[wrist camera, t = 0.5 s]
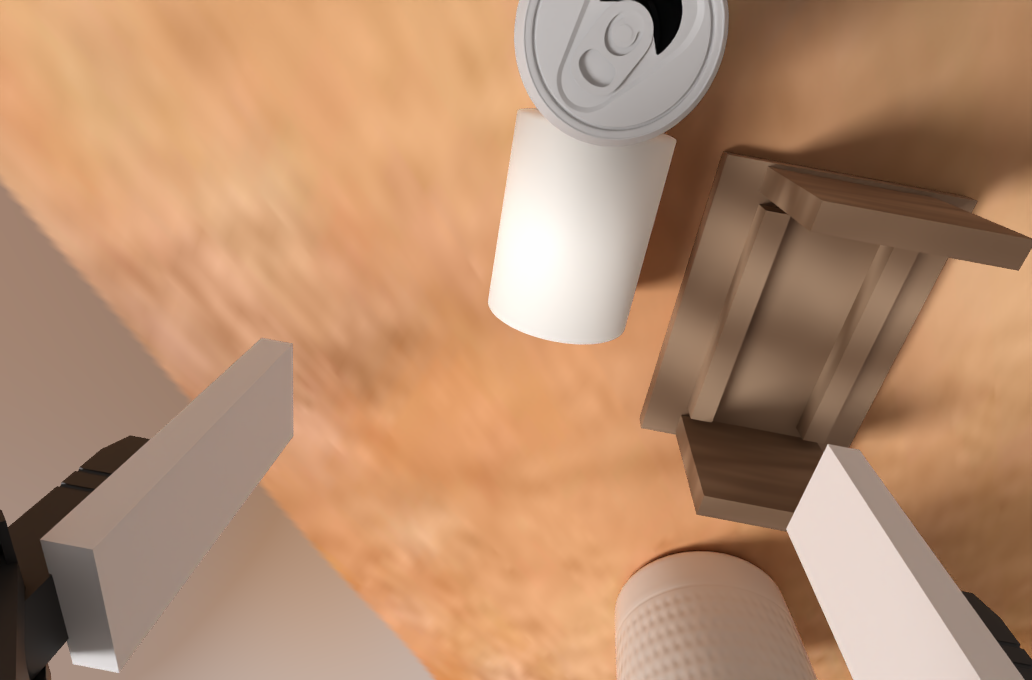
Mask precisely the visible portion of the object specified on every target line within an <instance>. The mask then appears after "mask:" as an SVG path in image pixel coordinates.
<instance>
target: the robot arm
mask: <svg viewBox="0 0 1032 680" xmlns="http://www.w3.org/2000/svg"><path fill="white" fill-rule="evenodd" d="M292 437H293V344H292V343H287V342H281V341H276V340H271V339H265V338H261V339H260V340H259V341H258V342H257V343H256V344H254V345H253V346H252V347H251V348H250V349H249V350H248V351H247V352H246V353H245V354H243V355H242V356H241V357H240V358H239V359H238V360H237V361H236V362H235V363H234V364H232V365H231V366H230V367H229V368H228V369H227V370H226V371H225V372H224V373H223V374H221V375H220V376H219V377H218V378H217V379H216V380H215V381H214V382H213V383H212V384H210V385H209V386H208V387H207V388H206V389H205V390H204V391H203V392H202V393H201V394H199V395H198V396H197V397H196V398H195V399H194V400H193V401H192V402H191V403H190V404H188V405H187V406H186V407H185V408H184V409H183V410H182V411H181V412H180V413H179V414H177V415H176V416H175V417H174V418H173V419H172V420H171V421H170V422H169V423H168V424H166V426H164V427H163V428H162V429H161V430H160V431H159V432H158V433H157V434H155V435H154V436H153V437H152V438H151V439H146V438H141V437H135V436H128V437H126V438H124V439H122V440H120V441H118V442H116V443H113V444H111V445H109V446H108V447H105V448H103V449H101V450H100V451H99V452H98V453H96V454H95V455H94V456H93V457H91V458H90V459H89V460H88V461H87V462H85V463H84V464H83V465H82V466H81V467H80V469H79V471H75V472H74V473H72V474H71V475H70V476H69V477H68V478H66V479H65V480H64V481H63V482H62V484H61V486H60V487H58V486H57V487H56V488H54V489H53V490H52V491H51V492H50V493H48V494H47V495H46V496H45V497H44V498H42V499H41V500H40V501H39V502H38V503H36V504H35V505H34V506H33V507H32V508H31V509H29V510H28V511H27V512H26V513H24V514H23V515H22V516H21V517H20V518H19V519H17V520H16V521H15V522H14V523H12V524H11V525H10V526H9V527H7V523H6V520H5V518H4V515H3V513H2V510H0V680H51V673H50V669H49V666H48V662H49V661H50V660H51V658H52V657H53V656H54V655H55V654H56V653H57V651H58V650H59V649H60V648H61V647H62V646H63V645H64V643H65V642H66V641H67V643H68V647H69V651H70V654H71V658H72V662H73V664H75V665H80V666H86V667H91V668H96V669H101V670H107V671H112V672H117V673H119V672H120V671H121V670H122V668H123V667H124V666H125V664H126V663H127V661H128V660H129V659H130V657H131V656H132V655H133V653H134V652H135V650H136V649H137V648H138V647H139V645H140V644H141V643H142V641H143V640H144V638H145V637H146V636H147V634H148V633H149V632H150V630H151V629H152V628H153V626H154V625H155V623H156V622H157V621H158V619H159V618H160V617H161V615H162V614H163V613H164V611H165V610H166V609H167V607H168V606H169V604H170V603H171V602H172V600H173V599H174V598H175V596H176V595H177V593H178V592H179V591H180V589H181V588H182V587H183V585H184V584H185V583H186V581H187V580H188V579H189V577H190V576H191V574H192V573H193V572H194V570H195V569H196V568H197V566H198V565H199V564H200V562H201V561H202V560H203V558H204V557H205V555H206V554H207V553H208V551H209V550H210V549H211V547H212V546H213V545H214V543H215V542H216V540H217V539H218V538H219V536H220V535H221V534H222V532H223V531H224V530H225V528H226V527H227V526H228V524H229V523H230V521H231V520H232V519H233V517H234V516H235V514H236V513H237V512H238V510H239V509H240V508H241V506H242V505H243V504H244V502H245V501H246V500H247V498H248V497H249V496H250V494H251V493H252V491H253V490H254V489H255V487H256V486H257V485H258V483H259V482H260V481H261V479H262V478H263V477H264V475H265V474H266V472H267V471H268V470H269V468H270V467H271V466H272V464H273V463H274V462H275V460H276V459H277V457H278V456H279V455H280V453H281V452H282V451H283V449H284V448H285V447H286V445H287V444H288V443H289V441H290V440H291V438H292ZM786 530H787V532H788V534H789V536H790V539H791V541H792V543H793V545H794V548H795V550H796V552H797V554H798V557H799V559H800V561H801V563H802V566H803V568H804V570H805V572H806V575H807V577H808V579H809V581H810V584H811V586H812V588H813V590H814V593H815V595H816V597H817V599H818V602H819V604H820V606H821V608H822V610H823V613H824V615H825V617H826V619H827V622H828V624H829V626H830V628H831V631H832V633H833V635H834V637H835V640H836V642H837V644H838V646H839V649H840V651H841V653H842V655H843V658H844V660H845V662H846V664H847V667H848V669H849V671H850V673H851V676H852V678H853V680H1032V659H1031V658H1030V657H1029V655H1028V654H1027V653H1026V651H1025V650H1024V649H1020V643H1019V642H1018V641H1017V640H1016V638H1015V637H1014V636H1013V634H1012V633H1011V632H1010V630H1009V629H1008V628H1007V626H1006V625H1005V624H1004V622H1003V621H1002V620H1001V618H1000V617H999V616H997V615H996V614H995V613H994V612H993V611H992V610H991V609H990V608H989V607H987V606H986V605H985V604H984V603H983V602H982V601H981V600H980V599H978V598H977V597H976V596H975V595H974V594H973V593H968V592H963V591H960V589H959V588H958V586H957V585H956V584H955V582H954V581H953V579H952V578H951V577H950V575H949V574H948V572H947V571H946V570H945V568H944V567H943V566H942V564H941V563H940V561H939V560H938V559H937V557H936V556H935V554H934V553H933V552H932V550H931V549H930V547H929V546H928V545H927V543H926V542H925V541H924V539H923V538H922V536H921V535H920V534H919V532H918V531H917V529H916V528H915V527H914V525H913V524H912V522H911V521H910V520H909V518H908V517H907V515H906V514H905V513H904V511H903V510H902V509H901V507H900V506H899V504H898V503H897V502H896V500H895V499H894V497H893V496H892V495H891V493H890V492H889V490H888V489H887V488H886V486H885V485H884V484H883V482H882V481H881V479H880V478H879V477H878V475H877V474H876V472H875V471H874V470H873V468H872V467H871V465H870V464H869V463H868V461H867V460H866V459H865V457H864V456H863V454H862V453H861V452H860V450H857V449H852V448H847V447H841V446H836V445H831V444H828V445H827V447H826V449H825V451H824V453H823V455H822V457H821V459H820V461H819V463H818V465H817V467H816V469H815V471H814V473H813V475H812V477H811V479H810V481H809V483H808V485H807V487H806V490H805V492H804V494H803V496H802V498H801V500H800V502H799V504H798V506H797V508H796V510H795V512H794V514H793V516H792V518H791V520H790V522H789V524H788V526H787V528H786Z"/></svg>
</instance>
